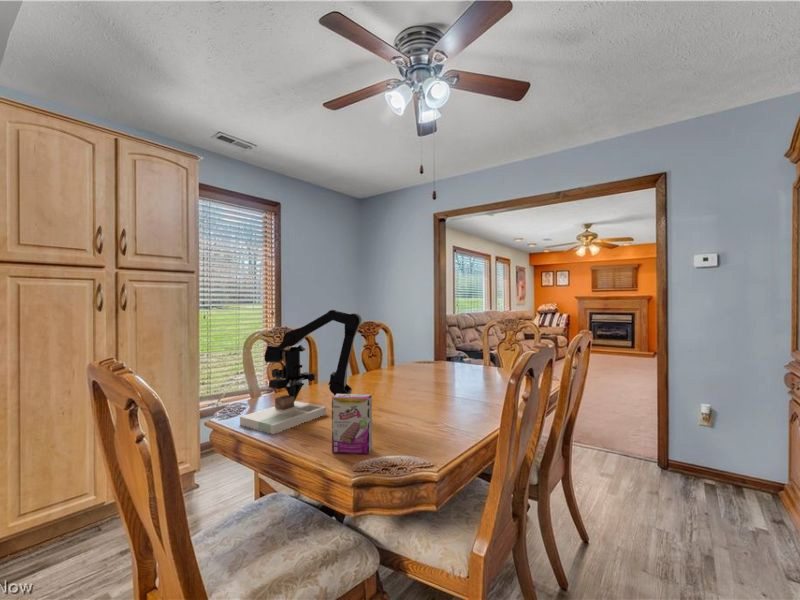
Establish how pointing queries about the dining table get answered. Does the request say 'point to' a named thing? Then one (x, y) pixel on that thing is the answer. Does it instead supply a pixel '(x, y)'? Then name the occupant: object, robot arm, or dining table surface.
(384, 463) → the dining table surface
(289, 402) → the walnut block
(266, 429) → the board
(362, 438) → the candy bar box
